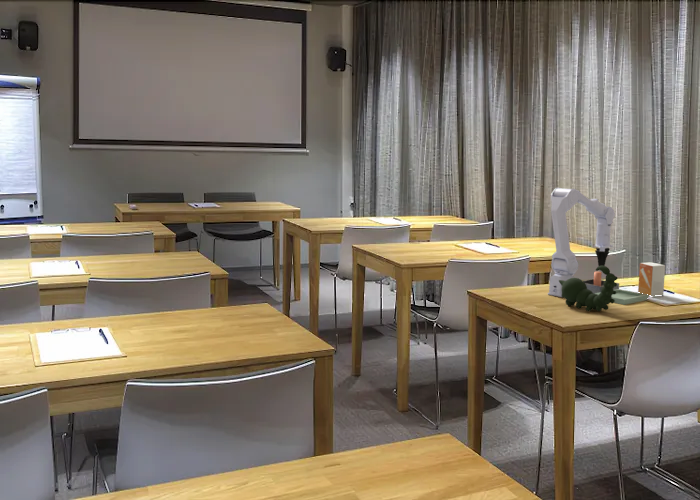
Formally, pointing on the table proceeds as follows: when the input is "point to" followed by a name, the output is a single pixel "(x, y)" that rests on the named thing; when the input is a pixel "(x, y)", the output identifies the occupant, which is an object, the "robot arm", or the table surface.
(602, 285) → the grey square bin
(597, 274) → the dowel
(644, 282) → the small box
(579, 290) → the toy figurine
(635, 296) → the tray
